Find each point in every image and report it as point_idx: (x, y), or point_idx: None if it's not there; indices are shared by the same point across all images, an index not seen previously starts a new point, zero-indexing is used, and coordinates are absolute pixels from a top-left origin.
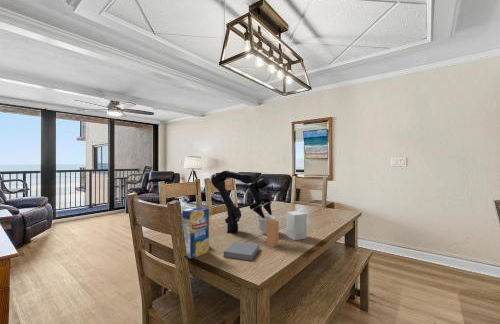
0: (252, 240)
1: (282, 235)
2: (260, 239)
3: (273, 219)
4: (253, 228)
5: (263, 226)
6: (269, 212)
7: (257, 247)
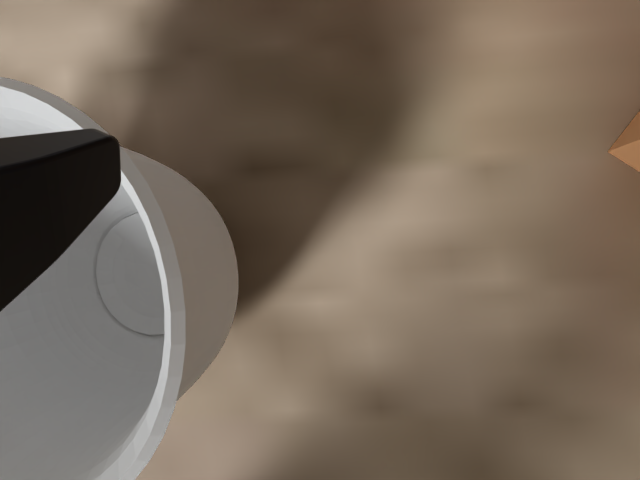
0: (541, 466)
1: (239, 13)
2: (475, 342)
3: (90, 118)
4: None
5: (214, 335)
6: (40, 225)
7: None
